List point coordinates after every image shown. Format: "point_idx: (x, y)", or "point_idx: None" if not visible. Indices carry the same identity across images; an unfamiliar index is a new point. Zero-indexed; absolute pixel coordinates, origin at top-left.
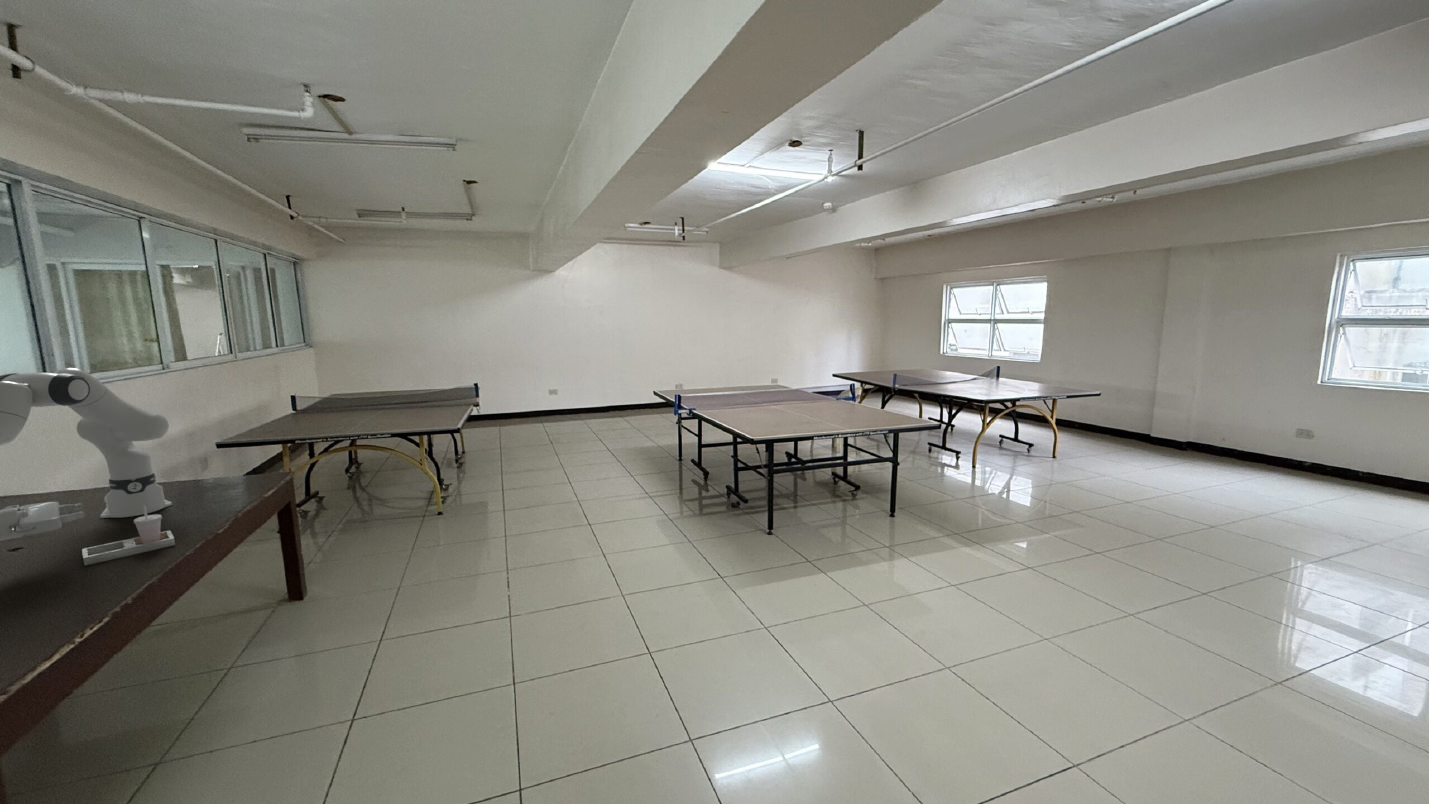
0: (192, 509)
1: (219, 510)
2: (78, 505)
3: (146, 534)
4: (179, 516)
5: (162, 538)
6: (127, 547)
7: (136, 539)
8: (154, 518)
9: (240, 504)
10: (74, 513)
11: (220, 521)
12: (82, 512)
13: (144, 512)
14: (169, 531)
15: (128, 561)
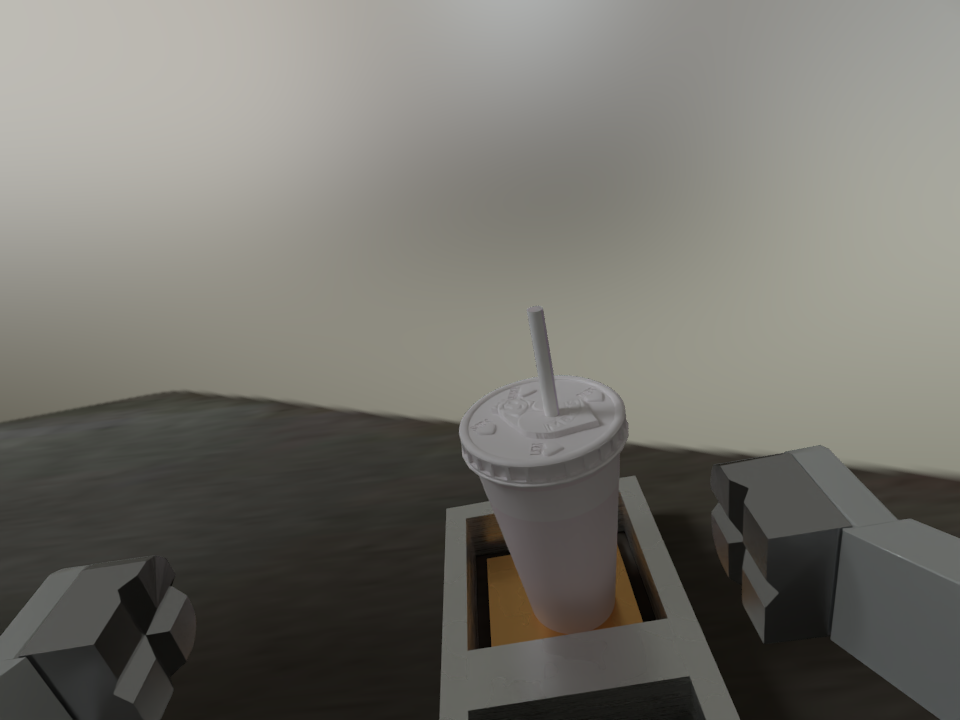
0: (31, 528)
1: (193, 451)
2: (128, 602)
3: (617, 521)
4: (81, 558)
5: (474, 565)
6: (688, 661)
7: (469, 644)
8: (588, 388)
9: (195, 413)
10: (900, 524)
11: (376, 430)
12: (826, 454)
13: (548, 366)
14: (469, 507)
15: (881, 692)
